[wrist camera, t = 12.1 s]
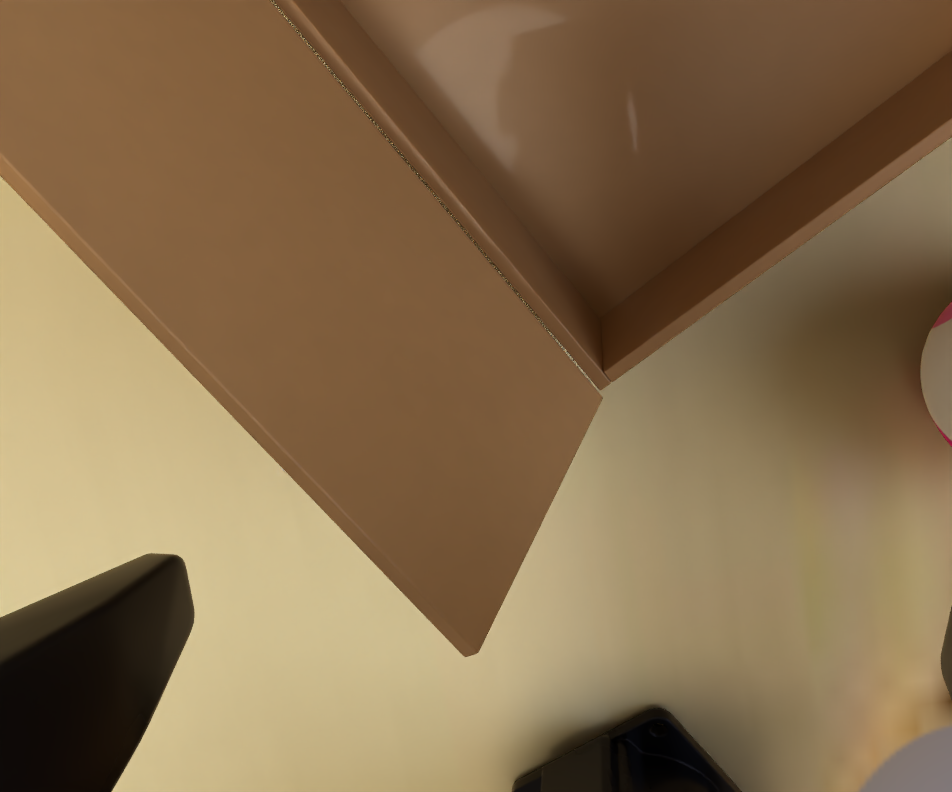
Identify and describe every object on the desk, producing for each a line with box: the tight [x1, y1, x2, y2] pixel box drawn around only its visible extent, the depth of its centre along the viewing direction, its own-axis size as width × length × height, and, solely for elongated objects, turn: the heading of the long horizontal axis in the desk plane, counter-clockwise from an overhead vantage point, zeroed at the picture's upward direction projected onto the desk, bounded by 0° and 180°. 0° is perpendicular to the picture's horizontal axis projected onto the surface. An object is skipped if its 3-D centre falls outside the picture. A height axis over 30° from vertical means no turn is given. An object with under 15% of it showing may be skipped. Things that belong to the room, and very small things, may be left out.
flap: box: [0, 0, 603, 657], centre depth 12 cm, size 14×7×1 cm
